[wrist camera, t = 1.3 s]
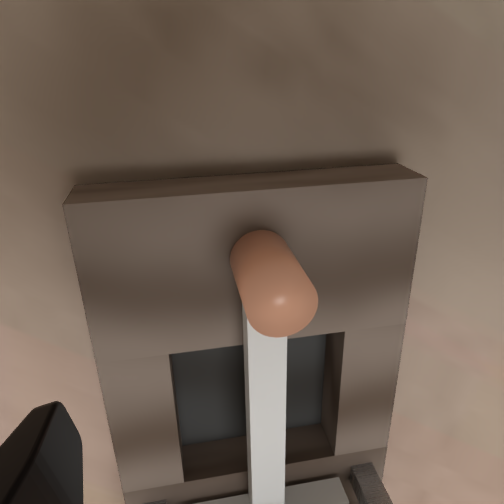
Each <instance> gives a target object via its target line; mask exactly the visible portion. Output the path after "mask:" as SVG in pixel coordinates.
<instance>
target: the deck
mask: <svg viewBox="0 0 504 504" xmlns="http://www.w3.org/2000/svg"><path fill="white" fill-rule="evenodd" d="M427 179H428V178H427V177H425V176H423V175H421V174H419V173H417V172H415V171H413V170H411V169H409V168H406V167H404V166H402V165H400V164H398V163H397V164H382V165H368V166H353V167H338V168H323V169H308V170H293V171H279V172H264V173H249V174H234V175H219V176H205V177H190V178H175V179H160V180H145V181H130V182H116V183H101V184H86V185H75V186H74V188H73V189H72V191H71V192H70V194H69V195H68V197H67V199H66V200H65V202H64V203H63V209H64V214H65V219H66V223H67V228H68V233H69V238H70V242H71V247H72V252H73V257H74V262H75V266H76V271H77V276H78V281H79V285H80V290H81V295H82V300H83V304H84V309H85V314H86V319H87V323H88V328H89V333H90V338H91V342H92V347H93V352H94V357H95V362H96V366H97V371H98V376H99V381H100V385H101V390H102V395H103V400H104V404H105V409H106V414H107V419H108V423H109V428H110V433H111V438H112V442H113V447H114V452H115V457H116V462H117V466H118V471H119V476H120V481H121V485H122V490H123V495H124V500H125V504H143V503H148V502H154V501H159V500H165V499H166V502H167V504H194V503H200V502H205V501H211V500H216V499H221V498H227V497H232V496H238V495H243V494H249V492H248V463H247V433H246V404H245V375H244V345H243V316H242V300H241V297H240V294H239V291H238V288H237V285H236V282H235V278H234V275H233V272H232V269H231V266H230V254H231V251H232V248H233V246H234V245H235V243H236V242H237V241H238V240H239V239H240V238H241V237H242V236H244V235H246V234H247V233H250V232H252V231H256V230H268V231H272V232H274V233H276V234H278V235H279V236H281V237H282V238H283V239H284V241H285V242H286V244H287V245H288V247H289V248H290V250H291V251H292V253H293V255H294V256H295V258H296V259H297V261H298V262H299V264H300V265H301V267H302V269H303V270H304V272H305V273H306V275H307V276H308V278H309V279H310V281H311V282H312V284H313V286H314V287H315V289H316V291H317V294H318V307H317V311H316V313H315V315H314V317H313V319H312V320H311V322H310V323H309V324H308V325H307V326H306V327H305V328H303V329H302V330H300V331H299V332H297V333H295V334H293V335H290V336H287V381H286V441H285V487H287V486H292V485H298V484H303V483H308V482H314V481H319V480H325V479H330V478H336V477H339V479H340V481H341V483H342V486H343V488H344V491H345V493H346V495H347V498H348V500H349V504H359V502H358V499H357V497H356V495H355V492H354V490H353V488H352V486H351V483H350V471H351V466H353V465H358V464H364V463H369V462H372V464H373V466H374V468H375V470H376V472H377V474H378V475H379V477H380V479H381V481H382V478H383V471H384V464H385V458H386V451H387V444H388V438H389V431H390V425H391V418H392V411H393V405H394V398H395V391H396V385H397V378H398V371H399V365H400V358H401V352H402V345H403V338H404V332H405V325H406V318H407V312H408V305H409V298H410V292H411V285H412V279H413V272H414V265H415V259H416V252H417V245H418V239H419V232H420V226H421V219H422V212H423V206H424V199H425V192H426V186H427Z"/></svg>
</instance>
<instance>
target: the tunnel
mask: <svg viewBox="0 0 504 504" xmlns="http://www.w3.org/2000/svg"><path fill="white" fill-rule="evenodd" d="M350 483H351V486H352V488H353V490H354V492H355V495H356V497H357V499H358V502H359V504H393V503H392V501H391V499H390V497H389V495H388V493H387V491H386V489H385V487H384V485H383V483H382V481H381V479H380V477H379V475H378V474H377V472H376V470H375V468H374V466H373V464H372V462H369V463H364V464H358V465H353V466H351V471H350ZM143 504H167V502H166V499H165V500H159V501H154V502H148V503H143Z"/></svg>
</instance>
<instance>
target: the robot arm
mask: <svg viewBox="0 0 504 504" xmlns="http://www.w3.org/2000/svg"><path fill="white" fill-rule="evenodd" d="M0 504H83V458H82V441H81V437H80V434H79V432H78V430H77V428H76V427H75V425H74V423H73V421H72V419H71V418H70V416H69V414H68V412H67V410H66V408H65V407H64V405H63V404H62V403H61V402H58V401H54V402H51V403H48V404H45V405H42V406H38V407H36V408H34V409H33V410H32V411H31V412H30V413H29V414H28V415H27V416H26V417H25V419H24V420H23V421H22V422H21V423H20V424H19V425H18V427H17V428H16V429H15V430H14V431H13V432H12V433H11V435H10V436H9V437H8V438H7V439H6V440H5V442H4V443H3V444H2V445H1V446H0Z"/></svg>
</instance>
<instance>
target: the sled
mask: <svg viewBox="0 0 504 504" xmlns="http://www.w3.org/2000/svg"><path fill="white" fill-rule="evenodd" d="M230 266H231V269H232V272H233V275H234V278H235V282H236V285H237V288H238V291H239V294H240V297H241V300H242V316H243V345H244V375H245V404H246V433H247V463H248V492H249V494H243V495H238V496H232V497H227V498H221V499H216V500H211V501H205V502H200V503H194V504H349V500H348V498H347V495H346V493H345V491H344V488H343V486H342V483H341V481H340V479H339V477H336V478H330V479H325V480H319V481H314V482H308V483H303V484H298V485H292V486H287V487H285V441H286V381H287V336H290V335H293V334H295V333H297V332H299V331H300V330H302V329H303V328H305V327H306V326H307V325H308V324H309V323H310V322H311V320H312V319H313V317H314V315H315V313H316V311H317V307H318V294H317V291H316V289H315V287H314V286H313V284H312V282H311V281H310V279H309V278H308V276H307V275H306V273H305V272H304V270H303V269H302V267H301V265H300V264H299V262H298V261H297V259H296V258H295V256H294V255H293V253H292V251H291V250H290V248H289V247H288V245H287V244H286V242H285V241H284V239H283V238H282V237H281V236H279V235H278V234H276V233H274V232H272V231H268V230H256V231H252V232H250V233H247V234H246V235H244V236H242V237H241V238H240V239H239V240H238V241H237V242H236V243H235V245H234V246H233V248H232V251H231V254H230Z"/></svg>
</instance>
